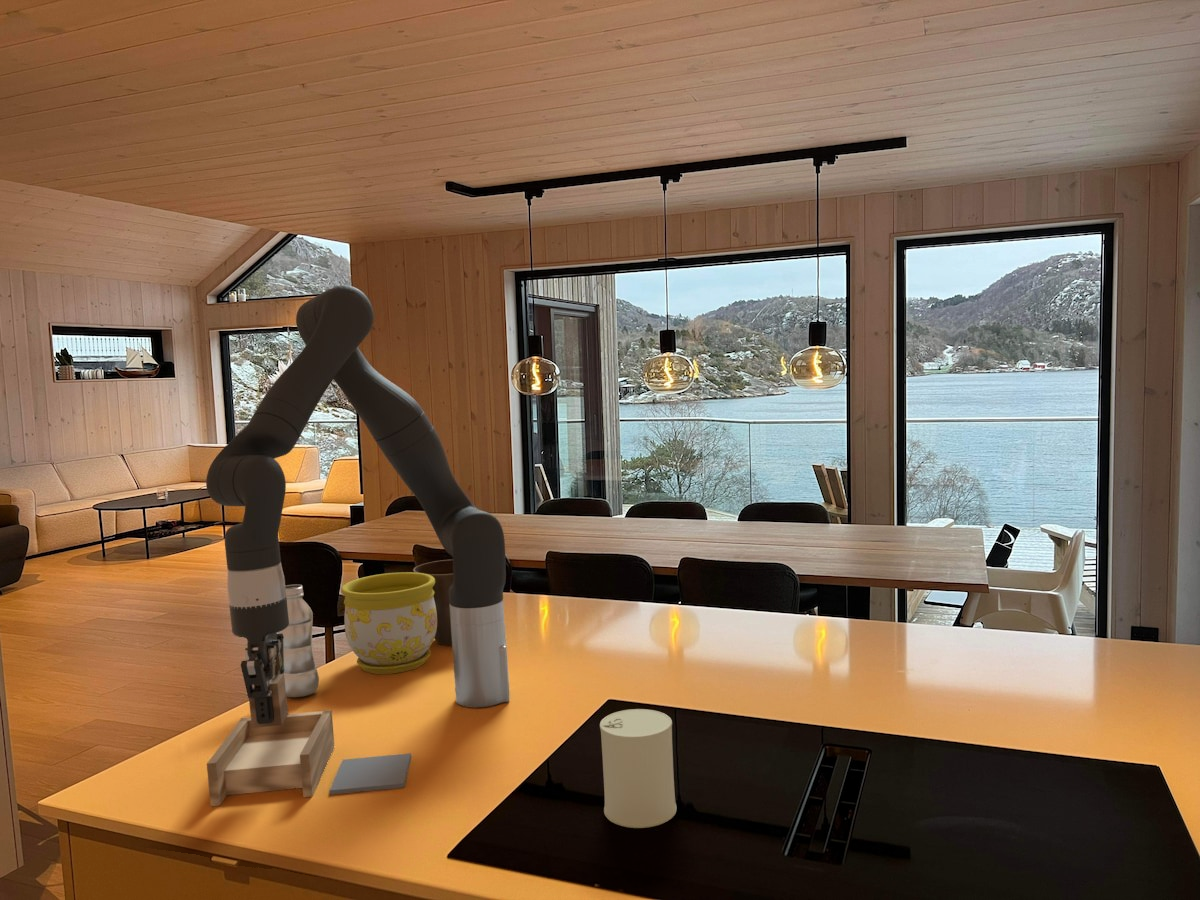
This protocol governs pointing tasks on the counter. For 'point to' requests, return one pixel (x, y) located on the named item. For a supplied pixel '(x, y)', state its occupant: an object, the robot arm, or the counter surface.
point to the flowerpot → (390, 620)
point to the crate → (272, 756)
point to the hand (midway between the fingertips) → (270, 715)
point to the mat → (371, 774)
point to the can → (638, 768)
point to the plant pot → (440, 596)
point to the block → (278, 703)
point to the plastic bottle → (299, 646)
